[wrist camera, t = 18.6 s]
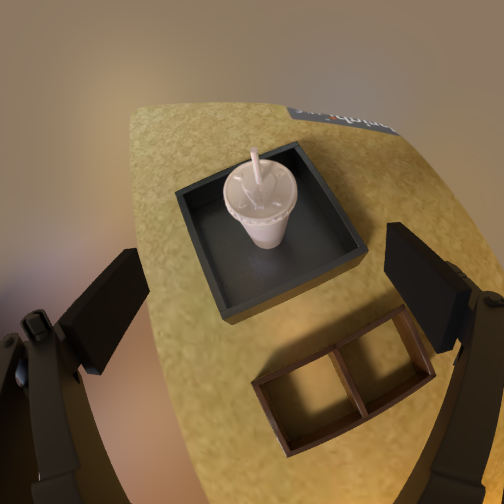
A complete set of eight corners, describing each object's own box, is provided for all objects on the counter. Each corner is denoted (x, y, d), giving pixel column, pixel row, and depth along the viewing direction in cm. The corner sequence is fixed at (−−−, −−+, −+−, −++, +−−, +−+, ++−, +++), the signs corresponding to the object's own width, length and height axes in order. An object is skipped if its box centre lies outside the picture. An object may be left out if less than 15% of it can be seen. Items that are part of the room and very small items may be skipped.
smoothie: (293, 207, 34) (293, 122, 21) (297, 258, 32) (303, 189, 19) (239, 211, 35) (213, 129, 21) (239, 262, 32) (207, 196, 19)
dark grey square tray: (358, 264, 31) (369, 250, 27) (231, 325, 31) (222, 320, 26) (296, 163, 37) (296, 140, 32) (186, 210, 36) (174, 192, 32)
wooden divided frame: (422, 375, 26) (436, 376, 22) (287, 447, 25) (286, 458, 22) (392, 309, 29) (404, 303, 26) (254, 379, 28) (250, 382, 25)
